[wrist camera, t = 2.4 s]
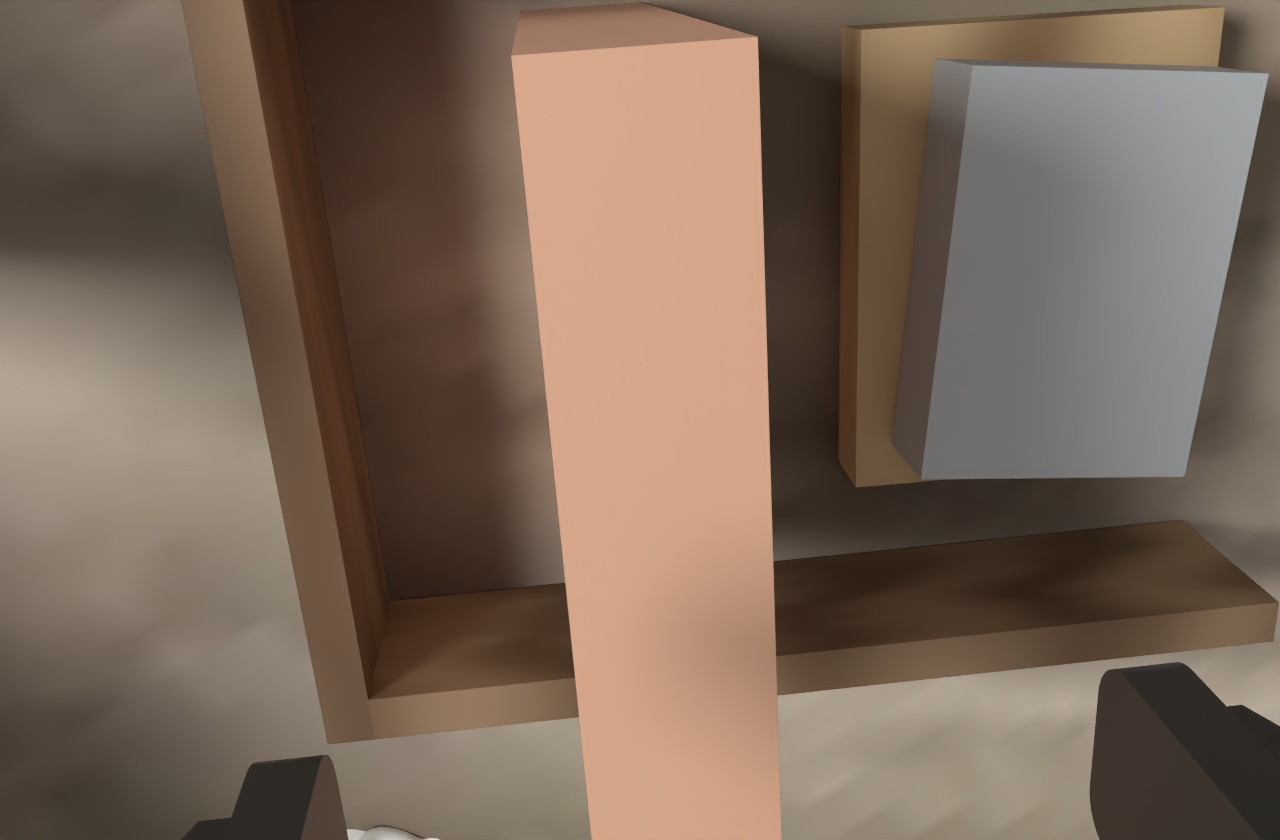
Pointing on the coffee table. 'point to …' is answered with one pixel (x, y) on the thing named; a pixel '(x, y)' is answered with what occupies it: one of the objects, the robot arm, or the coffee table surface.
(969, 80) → the offcut top
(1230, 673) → the coffee table surface
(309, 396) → the wooden tray
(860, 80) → the offcut bottom
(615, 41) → the salmon orange rectangular slab
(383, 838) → the white tentacle figurine
